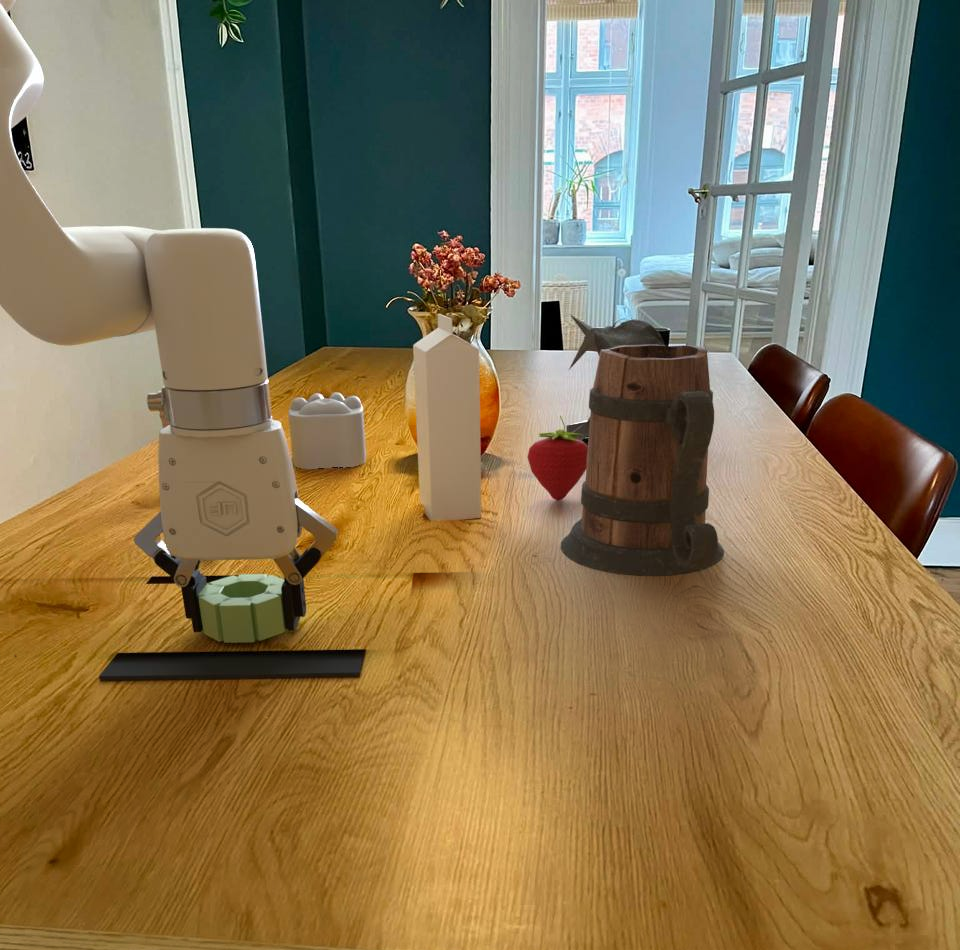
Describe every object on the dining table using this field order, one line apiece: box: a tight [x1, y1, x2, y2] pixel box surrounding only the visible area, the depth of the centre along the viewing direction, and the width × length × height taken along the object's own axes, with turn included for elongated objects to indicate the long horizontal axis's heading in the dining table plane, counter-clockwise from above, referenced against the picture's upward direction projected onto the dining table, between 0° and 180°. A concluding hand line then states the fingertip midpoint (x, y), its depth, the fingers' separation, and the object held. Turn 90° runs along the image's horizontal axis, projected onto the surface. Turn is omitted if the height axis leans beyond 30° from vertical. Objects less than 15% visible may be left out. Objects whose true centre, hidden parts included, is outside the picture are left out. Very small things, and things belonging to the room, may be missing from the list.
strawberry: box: [527, 415, 588, 501], centre depth 113 cm, size 6×8×10 cm
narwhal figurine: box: [565, 314, 666, 441], centre depth 140 cm, size 14×15×18 cm
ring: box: [198, 573, 288, 644], centre depth 78 cm, size 7×7×3 cm
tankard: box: [560, 345, 725, 577], centre depth 92 cm, size 24×17×20 cm
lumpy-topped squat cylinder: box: [287, 391, 367, 470], centre depth 134 cm, size 10×13×9 cm
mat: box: [98, 648, 367, 682], centre depth 79 cm, size 20×14×1 cm
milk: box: [412, 313, 483, 522], centre depth 106 cm, size 6×6×22 cm
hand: (248, 623), depth 78 cm, fingers closed on ring, 6 cm apart
